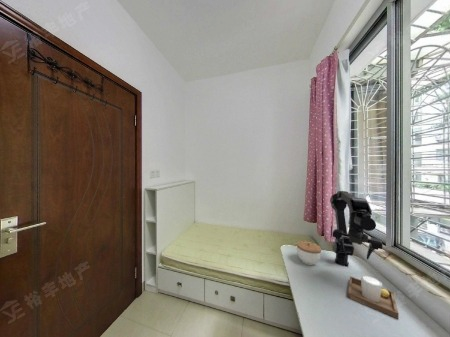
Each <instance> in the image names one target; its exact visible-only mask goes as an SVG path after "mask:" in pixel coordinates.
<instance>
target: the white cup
mask: <svg viewBox="0 0 450 337" xmlns="http://www.w3.org/2000/svg"><path fill="white" fill-rule="evenodd" d="M360 280H361V287H362V295H363V296H364V297H365V298H367V299H368V300H371V301H373V302H379V301H380V296H381V290H382V288H383V283H382V281H380V280H379V279H377V278H375V277H373V276H370V275H365V274H362V275H360Z"/></svg>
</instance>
